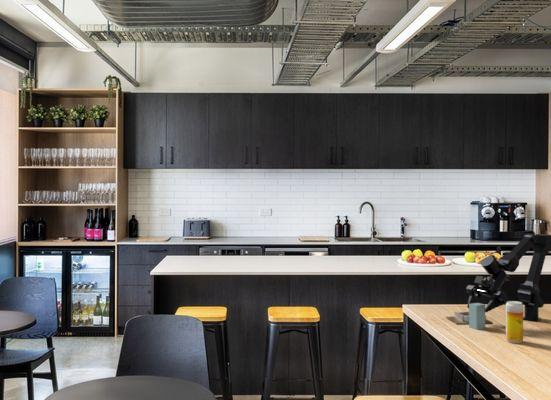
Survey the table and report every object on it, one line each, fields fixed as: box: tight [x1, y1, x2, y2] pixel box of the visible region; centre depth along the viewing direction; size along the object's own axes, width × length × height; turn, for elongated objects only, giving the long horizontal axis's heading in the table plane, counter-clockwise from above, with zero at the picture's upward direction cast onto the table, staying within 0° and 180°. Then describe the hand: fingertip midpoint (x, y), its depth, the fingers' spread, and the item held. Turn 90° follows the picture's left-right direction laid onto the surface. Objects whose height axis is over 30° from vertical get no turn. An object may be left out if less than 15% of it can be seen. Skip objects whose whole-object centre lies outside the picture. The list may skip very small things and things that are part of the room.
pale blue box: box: [468, 302, 486, 331], centre depth 222 cm, size 6×4×10 cm, turn 116°
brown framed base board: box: [445, 311, 494, 326], centre depth 234 cm, size 16×12×3 cm
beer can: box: [505, 300, 524, 344], centre depth 201 cm, size 6×6×15 cm
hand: (476, 309), depth 222 cm, fingers open, 9 cm apart
